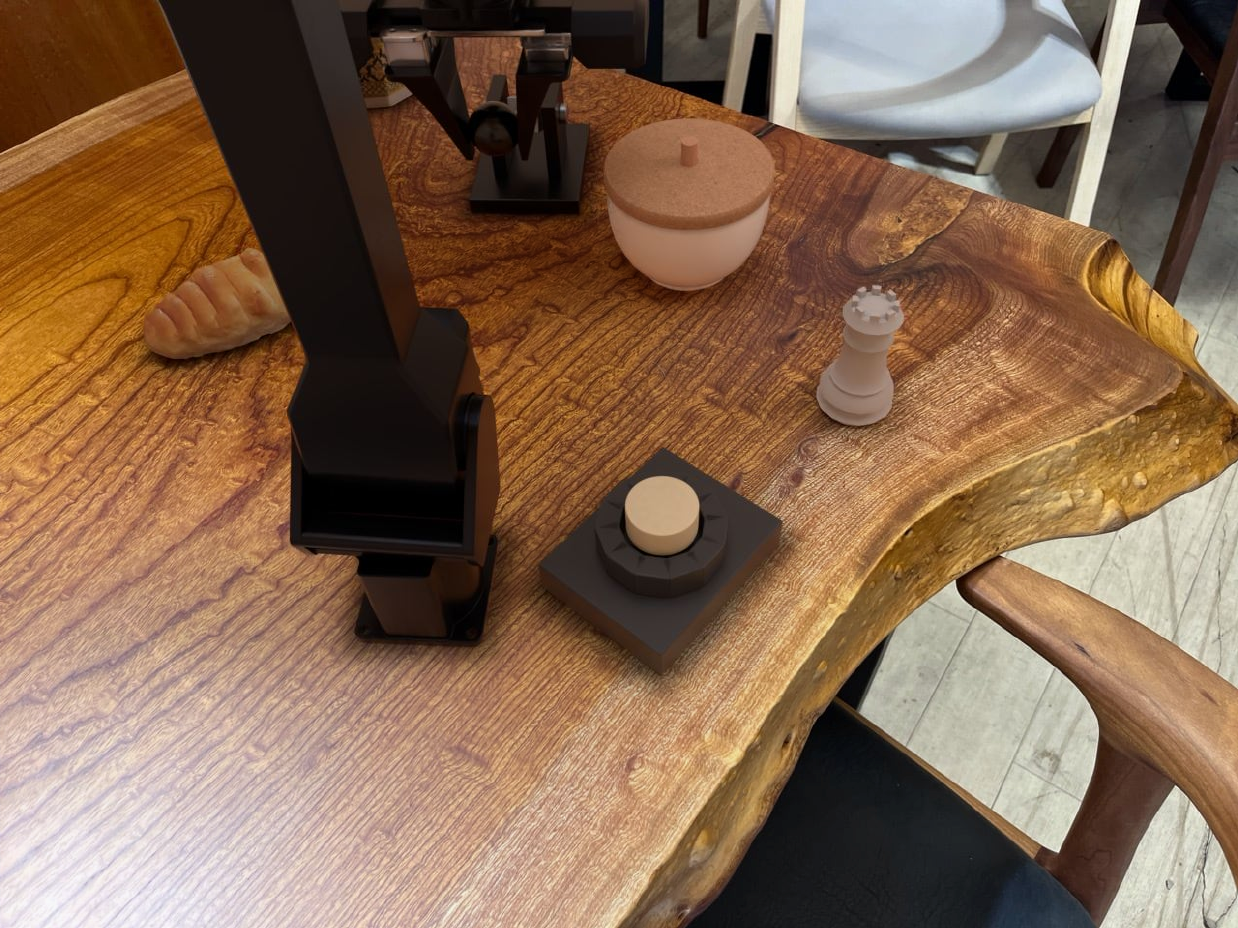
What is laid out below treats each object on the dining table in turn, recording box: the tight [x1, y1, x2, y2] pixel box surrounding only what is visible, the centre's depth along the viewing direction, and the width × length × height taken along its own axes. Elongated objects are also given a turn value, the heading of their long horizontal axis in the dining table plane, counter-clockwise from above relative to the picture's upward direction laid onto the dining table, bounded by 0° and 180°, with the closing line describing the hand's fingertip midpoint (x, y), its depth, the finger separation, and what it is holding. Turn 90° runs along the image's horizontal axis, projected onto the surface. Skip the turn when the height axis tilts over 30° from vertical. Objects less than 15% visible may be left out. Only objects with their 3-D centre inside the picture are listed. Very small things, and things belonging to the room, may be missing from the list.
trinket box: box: [603, 117, 776, 292], centre depth 62 cm, size 11×11×9 cm
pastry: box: [142, 247, 291, 361], centre depth 62 cm, size 9×7×4 cm
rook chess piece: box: [816, 284, 905, 427], centre depth 54 cm, size 4×4×8 cm
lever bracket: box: [468, 74, 591, 215], centre depth 71 cm, size 10×8×7 cm
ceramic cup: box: [356, 38, 413, 109], centre depth 79 cm, size 13×10×10 cm
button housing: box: [537, 446, 784, 676], centre depth 49 cm, size 10×8×4 cm
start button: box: [625, 476, 699, 556], centre depth 47 cm, size 4×4×2 cm
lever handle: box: [468, 94, 543, 157], centre depth 64 cm, size 15×3×3 cm, turn 176°
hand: (498, 157), depth 60 cm, fingers closed on lever handle, 3 cm apart
